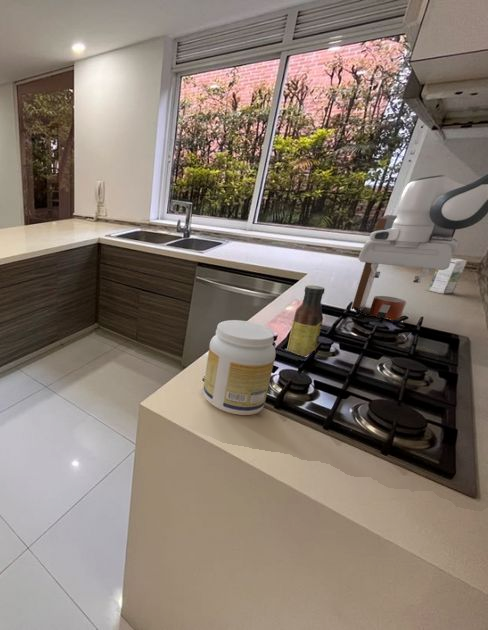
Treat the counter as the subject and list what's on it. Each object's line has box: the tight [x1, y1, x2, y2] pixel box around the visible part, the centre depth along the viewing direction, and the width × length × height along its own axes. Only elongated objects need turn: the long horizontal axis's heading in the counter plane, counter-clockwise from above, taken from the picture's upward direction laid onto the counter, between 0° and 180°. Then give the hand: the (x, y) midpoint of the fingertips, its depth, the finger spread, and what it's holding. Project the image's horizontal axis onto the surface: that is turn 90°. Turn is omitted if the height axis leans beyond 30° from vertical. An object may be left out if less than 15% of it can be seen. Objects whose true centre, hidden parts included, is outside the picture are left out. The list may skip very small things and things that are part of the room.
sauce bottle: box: [286, 285, 326, 356], centre depth 88 cm, size 6×6×20 cm
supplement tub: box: [202, 319, 277, 416], centre depth 71 cm, size 12×12×17 cm
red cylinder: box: [368, 295, 407, 320], centre depth 115 cm, size 8×21×7 cm, turn 133°
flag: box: [351, 214, 456, 311], centre depth 114 cm, size 17×18×34 cm
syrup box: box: [427, 257, 468, 295], centre depth 145 cm, size 6×6×14 cm
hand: (395, 279), depth 105 cm, fingers open, 8 cm apart
